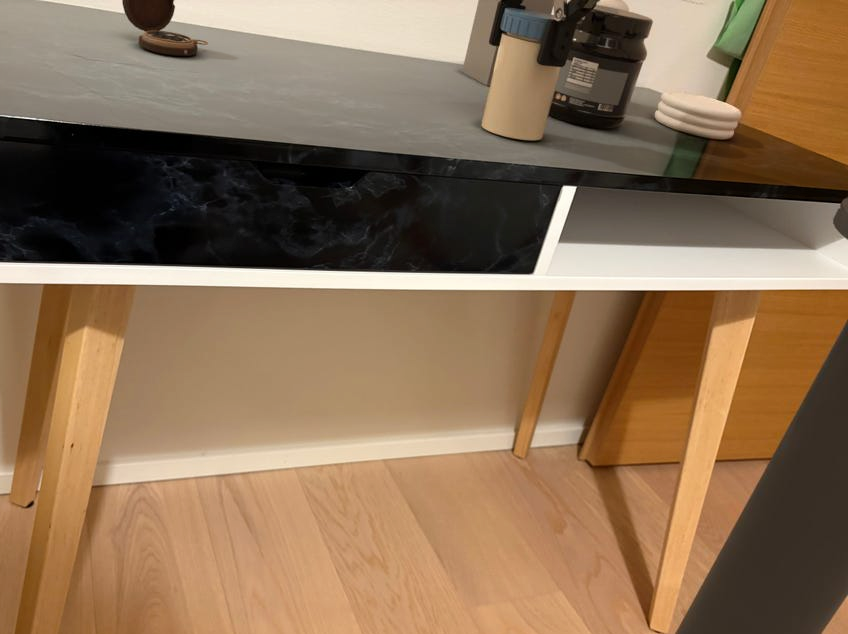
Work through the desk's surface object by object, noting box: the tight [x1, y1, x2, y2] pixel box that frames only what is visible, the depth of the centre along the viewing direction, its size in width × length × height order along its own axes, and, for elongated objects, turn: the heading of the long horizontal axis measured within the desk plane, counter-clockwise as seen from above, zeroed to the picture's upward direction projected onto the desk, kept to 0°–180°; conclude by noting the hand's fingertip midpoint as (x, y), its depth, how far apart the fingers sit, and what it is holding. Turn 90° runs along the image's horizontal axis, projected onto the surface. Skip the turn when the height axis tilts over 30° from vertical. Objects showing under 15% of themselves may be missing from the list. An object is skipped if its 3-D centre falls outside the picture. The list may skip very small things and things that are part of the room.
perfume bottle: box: [461, 0, 554, 87], centre depth 102 cm, size 7×7×18 cm
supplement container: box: [548, 4, 654, 130], centre depth 93 cm, size 10×10×12 cm
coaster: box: [654, 90, 742, 141], centre depth 102 cm, size 10×10×4 cm
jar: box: [480, 32, 561, 141], centre depth 80 cm, size 6×6×11 cm
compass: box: [121, 0, 209, 57], centre depth 85 cm, size 8×8×7 cm
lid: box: [500, 8, 555, 40], centre depth 78 cm, size 7×7×2 cm
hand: (525, 54), depth 79 cm, fingers closed on lid, 6 cm apart
